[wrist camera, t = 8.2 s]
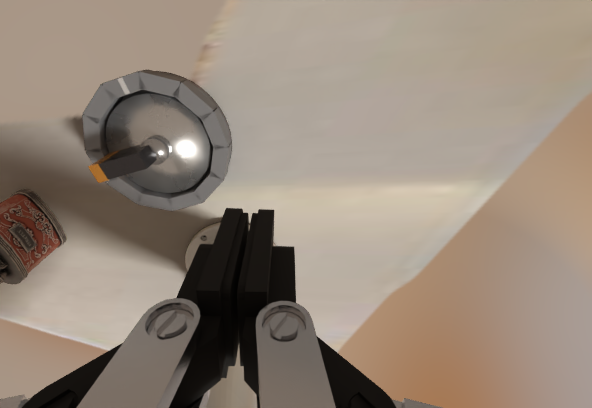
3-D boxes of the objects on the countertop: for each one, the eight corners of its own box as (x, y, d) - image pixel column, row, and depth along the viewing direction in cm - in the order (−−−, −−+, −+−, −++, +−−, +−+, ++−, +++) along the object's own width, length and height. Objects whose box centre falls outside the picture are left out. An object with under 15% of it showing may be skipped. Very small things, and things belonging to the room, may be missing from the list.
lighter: (73, 241, 40) (12, 298, 31) (49, 246, 40) (-18, 304, 31) (34, 186, 36) (-49, 233, 27) (8, 192, 36) (-81, 241, 27)
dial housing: (212, 214, 38) (206, 228, 35) (91, 171, 35) (73, 183, 32) (251, 105, 32) (248, 111, 29) (109, 42, 29) (89, 43, 26)
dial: (187, 79, 29) (169, 86, 25) (227, 175, 34) (217, 196, 30) (91, 108, 31) (56, 121, 26) (142, 197, 35) (120, 221, 31)
